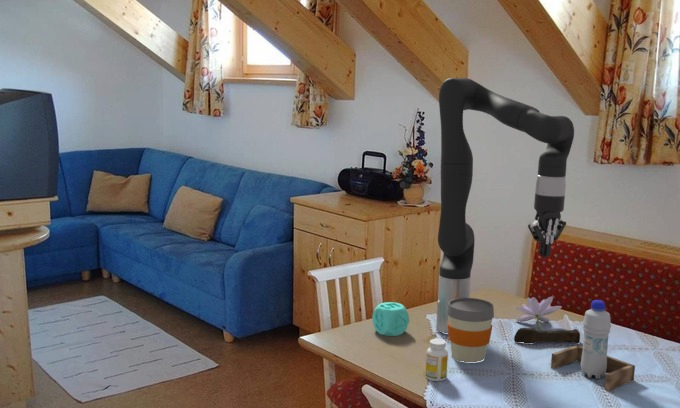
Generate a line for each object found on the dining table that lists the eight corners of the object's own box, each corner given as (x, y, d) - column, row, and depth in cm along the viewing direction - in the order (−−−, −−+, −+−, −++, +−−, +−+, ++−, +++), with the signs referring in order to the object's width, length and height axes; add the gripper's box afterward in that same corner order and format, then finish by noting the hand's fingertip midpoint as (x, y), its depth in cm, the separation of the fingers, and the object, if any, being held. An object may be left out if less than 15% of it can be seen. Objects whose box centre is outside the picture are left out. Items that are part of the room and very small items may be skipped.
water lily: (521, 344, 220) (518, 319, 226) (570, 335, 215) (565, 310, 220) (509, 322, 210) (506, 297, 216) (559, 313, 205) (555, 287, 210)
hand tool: (575, 340, 206) (576, 325, 205) (580, 345, 202) (581, 329, 201) (511, 340, 205) (512, 325, 204) (515, 345, 201) (516, 329, 200)
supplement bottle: (427, 382, 174) (429, 345, 173) (423, 373, 180) (424, 337, 178) (449, 381, 175) (450, 345, 173) (443, 372, 180) (445, 337, 179)
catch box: (608, 391, 171) (609, 375, 170) (550, 368, 184) (551, 353, 184) (633, 380, 177) (635, 365, 177) (576, 358, 191) (577, 345, 190)
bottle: (574, 370, 183) (580, 296, 180) (599, 369, 184) (605, 296, 180) (586, 380, 177) (592, 304, 173) (611, 380, 177) (617, 304, 174)
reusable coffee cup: (462, 345, 200) (465, 294, 197) (500, 357, 191) (503, 305, 188) (435, 356, 191) (437, 303, 188) (473, 370, 182) (476, 315, 180)
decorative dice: (409, 333, 209) (409, 307, 208) (388, 338, 204) (388, 312, 203) (392, 325, 215) (393, 300, 214) (371, 330, 211) (372, 304, 210)
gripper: (544, 196, 176) (539, 263, 179) (578, 193, 183) (572, 257, 186) (521, 192, 182) (516, 256, 185) (555, 189, 189) (549, 251, 193)
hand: (544, 256), depth 186 cm, fingers closed
